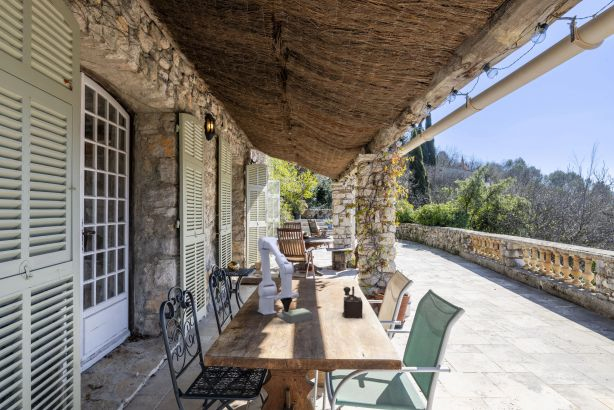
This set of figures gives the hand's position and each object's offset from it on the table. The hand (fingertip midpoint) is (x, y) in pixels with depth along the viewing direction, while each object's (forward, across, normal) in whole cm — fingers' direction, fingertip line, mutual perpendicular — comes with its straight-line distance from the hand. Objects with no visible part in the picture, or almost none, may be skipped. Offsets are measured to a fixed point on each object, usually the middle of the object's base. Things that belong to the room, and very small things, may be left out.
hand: (286, 311), depth 189 cm
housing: (+5, +8, +4) cm, 10 cm away
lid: (+2, +7, 0) cm, 7 cm away
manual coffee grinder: (+6, +36, -12) cm, 38 cm away
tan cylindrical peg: (+4, +8, +8) cm, 12 cm away
